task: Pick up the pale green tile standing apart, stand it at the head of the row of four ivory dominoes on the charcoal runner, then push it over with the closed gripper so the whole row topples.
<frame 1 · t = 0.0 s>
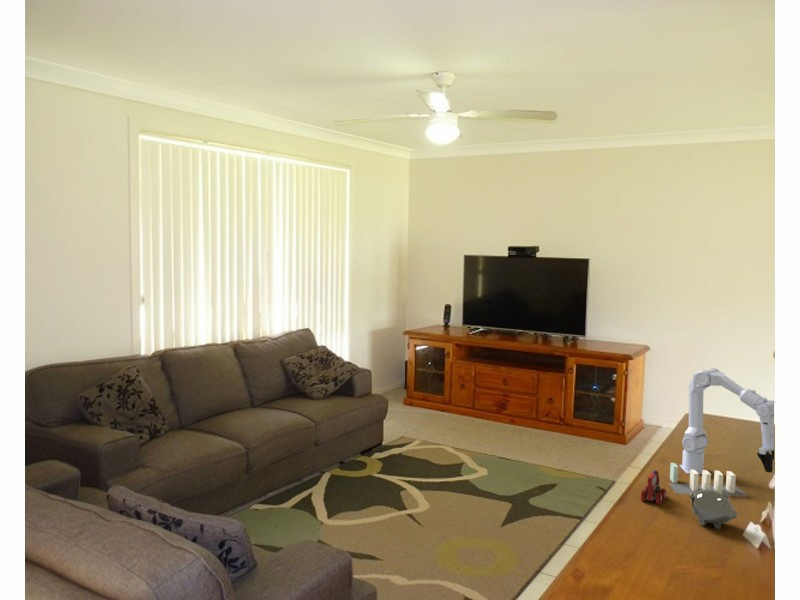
hand: (774, 470, 243), 11 cm above the table, tool pointing down, fingers open, 7 cm apart
tile4: (717, 490, 249), resting on runner mat
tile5: (730, 490, 248), resting on runner mat
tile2: (693, 489, 250), resting on runner mat
pale green tile: (673, 481, 258), on the table
runner mat: (706, 490, 249), on the table
piggy bank: (711, 524, 220), on the table
toy fire truck: (653, 500, 241), on the table
tile3: (705, 489, 249), resting on runner mat
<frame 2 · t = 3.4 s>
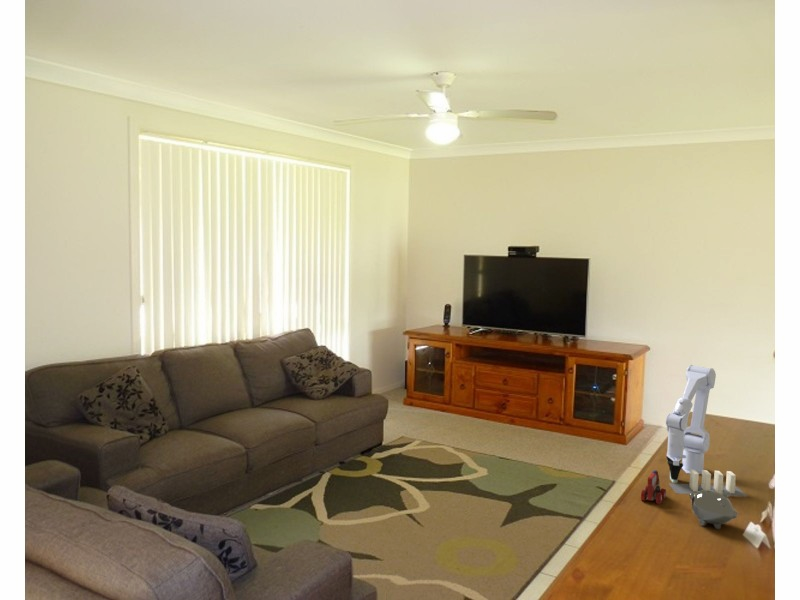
hand: (673, 477, 258), 2 cm above the table, tool pointing down, fingers closed on pale green tile, 5 cm apart
pale green tile: (673, 481, 258), on the table, touching gripper
everything else where it was.
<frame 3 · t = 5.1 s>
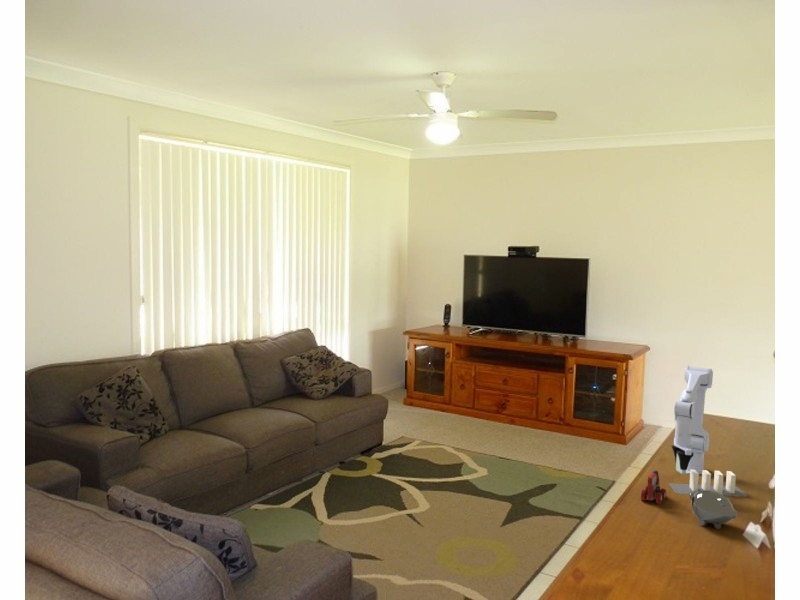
hand: (681, 467, 249), 9 cm above the table, tool pointing down, fingers closed on pale green tile, 5 cm apart
pale green tile: (680, 471, 249), point 7 cm above the table, touching gripper
everything else where it was.
when the fingers open (2 cm above the table, at t = 6.7 s): pale green tile stays where it is, resting on runner mat.
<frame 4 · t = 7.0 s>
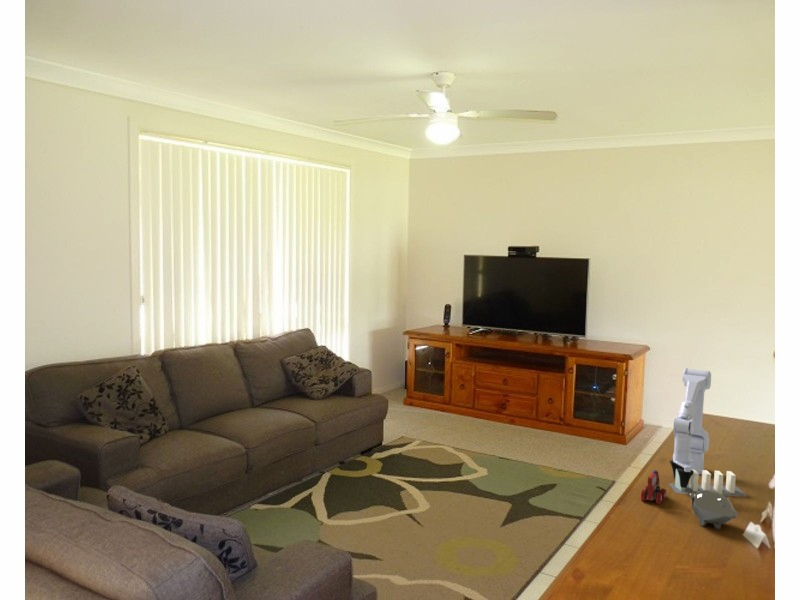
hand: (680, 483, 250), 2 cm above the table, tool pointing down, fingers open, 7 cm apart
pale green tile: (679, 488, 250), resting on runner mat
everything else where it was.
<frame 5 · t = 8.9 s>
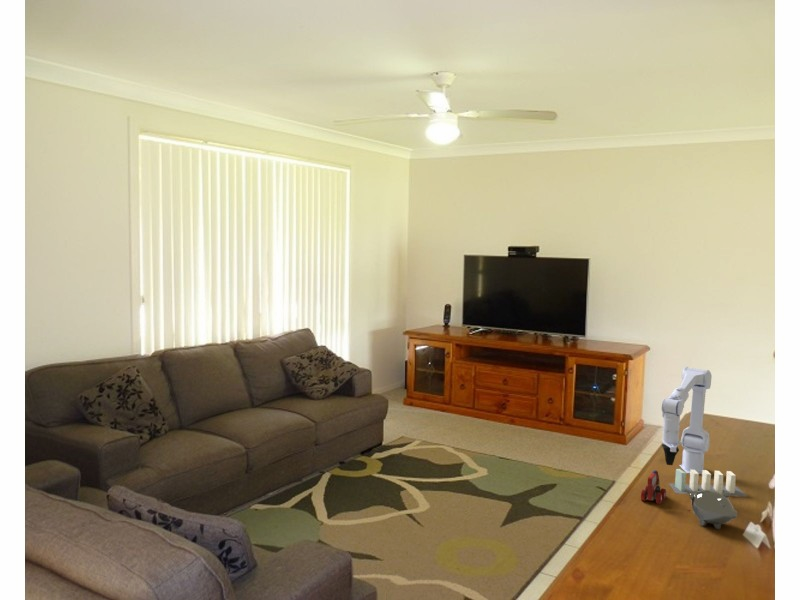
hand: (669, 464, 250), 10 cm above the table, tool pointing down, fingers closed
nothing on the table moved.
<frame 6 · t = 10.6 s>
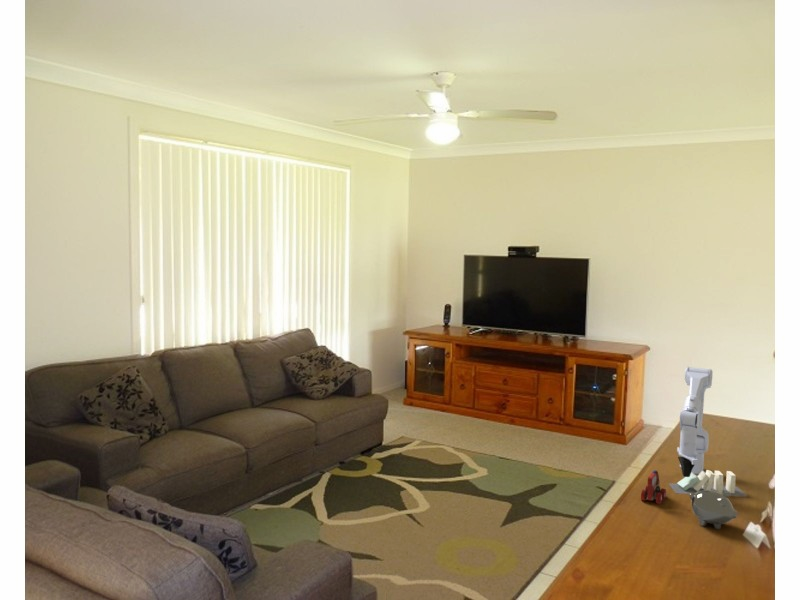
hand: (686, 476, 249), 5 cm above the table, tool pointing down, fingers closed
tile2: (694, 488, 250), point 1 cm above the table, tilted 35°, touching runner mat, pale green tile
pale green tile: (680, 486, 250), point 1 cm above the table, tilted 54°, touching runner mat, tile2
tile3: (705, 489, 249), point 1 cm above the table, tilted 13°, touching runner mat
everything else where it was.
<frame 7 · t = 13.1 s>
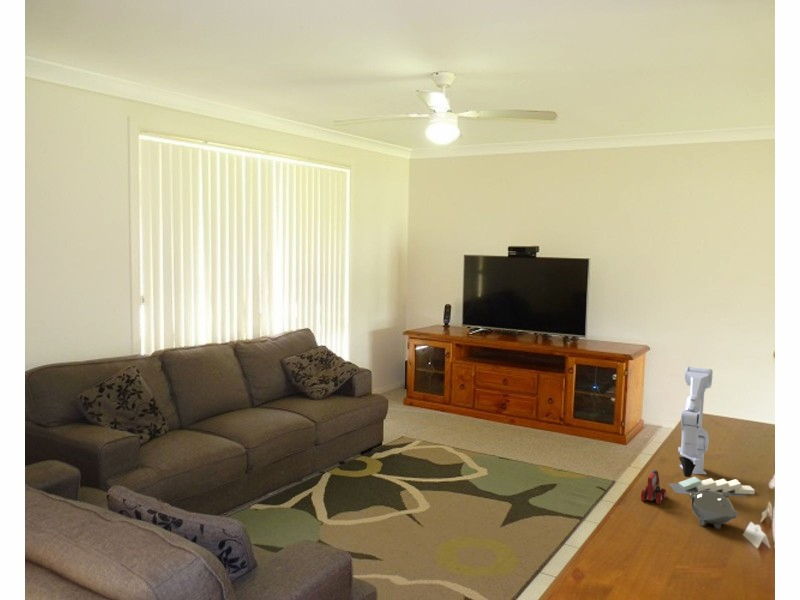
hand: (687, 476, 249), 5 cm above the table, tool pointing down, fingers closed
tile4: (720, 488, 249), point 1 cm above the table, tilted 69°, touching runner mat, tile3, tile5
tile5: (732, 489, 248), point 1 cm above the table, tilted 90°, touching runner mat, tile4
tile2: (695, 487, 249), point 1 cm above the table, tilted 70°, touching runner mat, pale green tile, tile3
pale green tile: (681, 486, 250), point 1 cm above the table, tilted 71°, touching runner mat, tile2
tile3: (708, 487, 249), point 1 cm above the table, tilted 69°, touching runner mat, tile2, tile4
everything else where it was.
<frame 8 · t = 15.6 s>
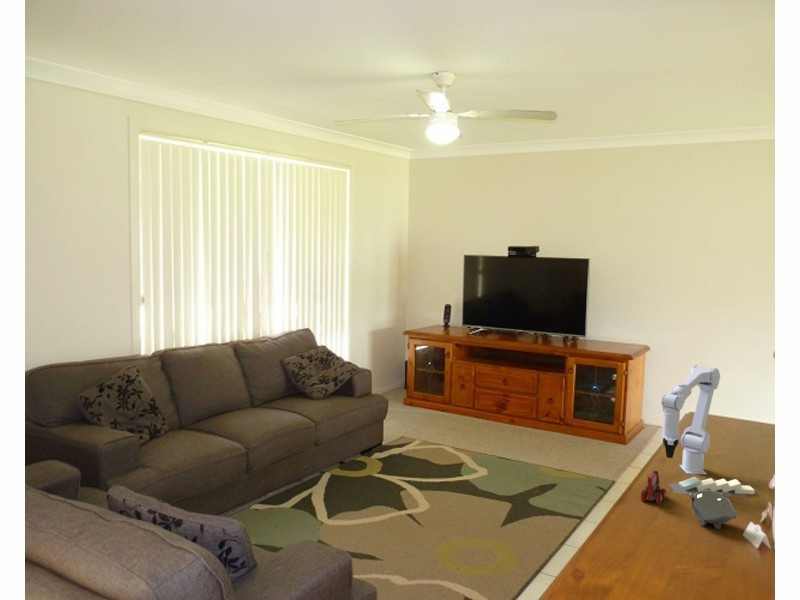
hand: (669, 457, 257), 10 cm above the table, tool pointing down, fingers closed
nothing on the table moved.
at the end: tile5 tilted 90°; pale green tile inside the target area (0.4 cm from its centre), point 1.2 cm above the table; tile3 tilted 69° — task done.
